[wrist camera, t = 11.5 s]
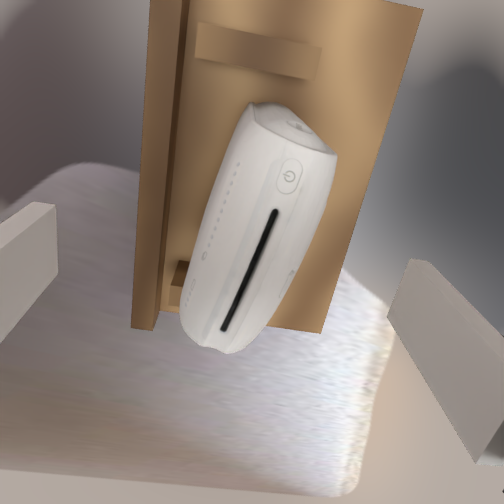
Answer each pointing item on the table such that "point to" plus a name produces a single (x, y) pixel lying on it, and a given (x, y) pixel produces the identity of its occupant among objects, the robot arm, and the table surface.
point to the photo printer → (255, 226)
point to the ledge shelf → (230, 110)
